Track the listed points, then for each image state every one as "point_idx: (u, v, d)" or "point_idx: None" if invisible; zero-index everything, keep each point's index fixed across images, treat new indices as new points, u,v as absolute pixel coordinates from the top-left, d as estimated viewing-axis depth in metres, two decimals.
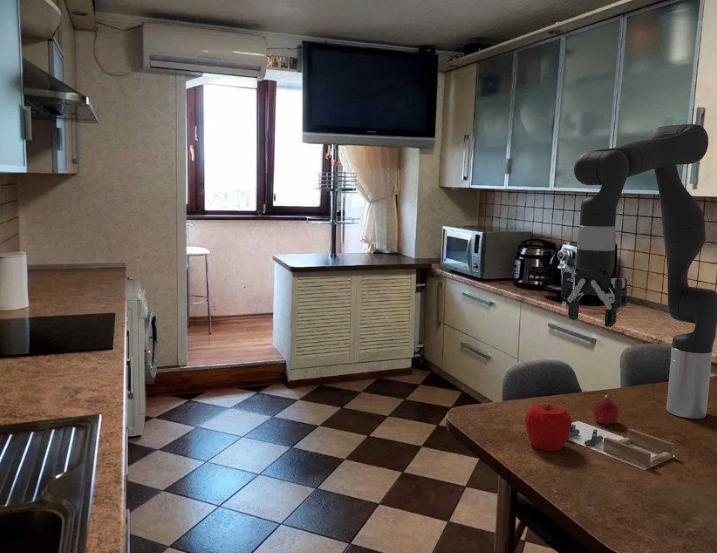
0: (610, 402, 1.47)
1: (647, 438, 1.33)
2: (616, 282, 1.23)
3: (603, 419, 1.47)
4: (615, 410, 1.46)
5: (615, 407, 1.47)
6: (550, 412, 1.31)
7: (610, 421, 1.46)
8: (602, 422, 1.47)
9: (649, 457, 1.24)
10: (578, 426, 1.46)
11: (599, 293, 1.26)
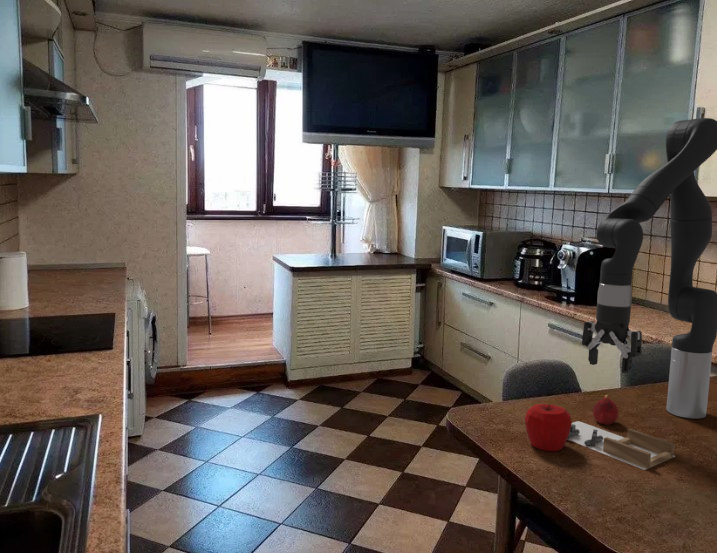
0: (610, 402, 1.47)
1: (647, 438, 1.33)
2: (632, 335, 1.40)
3: (603, 419, 1.47)
4: (615, 410, 1.46)
5: (615, 407, 1.47)
6: (550, 412, 1.31)
7: (610, 421, 1.46)
8: (602, 422, 1.47)
9: (649, 457, 1.24)
10: (578, 426, 1.46)
11: (617, 343, 1.43)
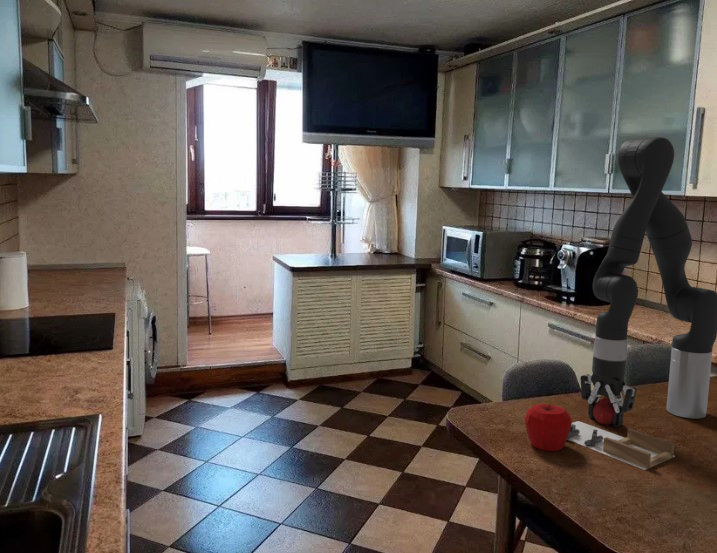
0: (610, 402, 1.47)
1: (647, 438, 1.33)
2: (627, 392, 1.42)
3: (603, 420, 1.47)
4: None
5: None
6: (550, 412, 1.31)
7: (610, 421, 1.46)
8: (602, 422, 1.47)
9: (649, 457, 1.24)
10: (578, 426, 1.46)
11: (611, 397, 1.45)
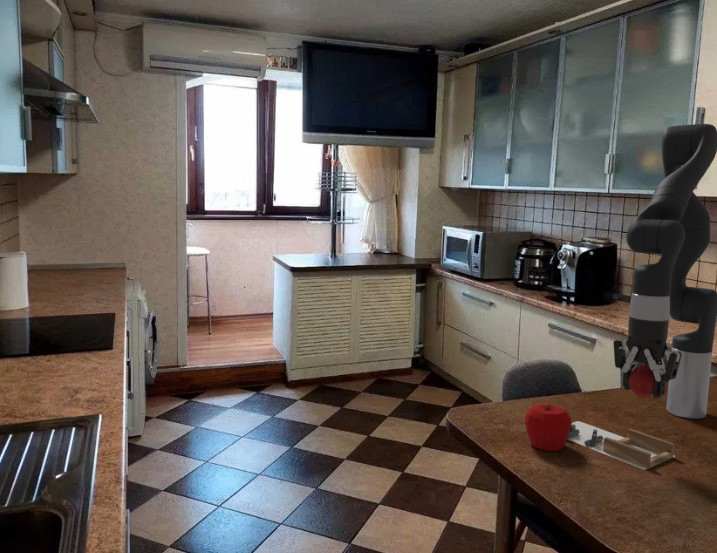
0: (649, 370, 1.27)
1: (647, 438, 1.33)
2: (671, 356, 1.22)
3: (641, 390, 1.26)
4: (655, 379, 1.26)
5: None
6: (550, 412, 1.31)
7: (649, 392, 1.26)
8: (640, 393, 1.27)
9: (649, 457, 1.24)
10: (578, 426, 1.46)
11: (651, 363, 1.25)
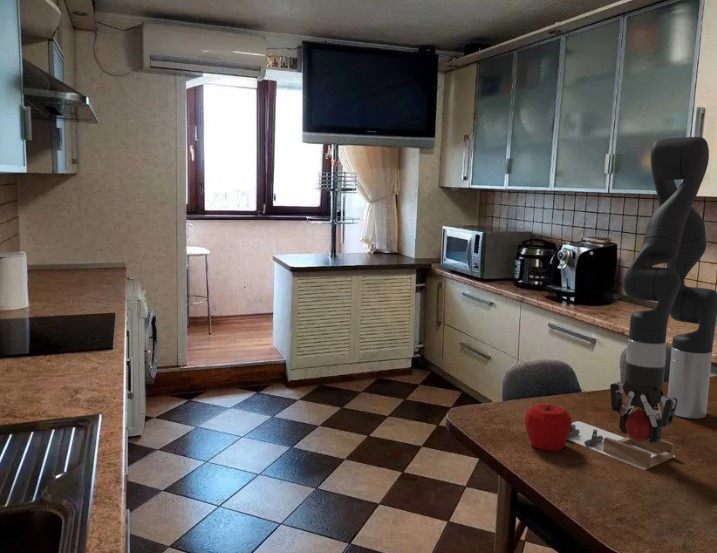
0: (645, 415, 1.28)
1: None
2: (667, 403, 1.23)
3: (637, 435, 1.28)
4: (651, 424, 1.27)
5: None
6: (550, 412, 1.31)
7: (646, 437, 1.27)
8: (636, 438, 1.28)
9: (649, 457, 1.24)
10: (578, 426, 1.46)
11: (647, 409, 1.26)
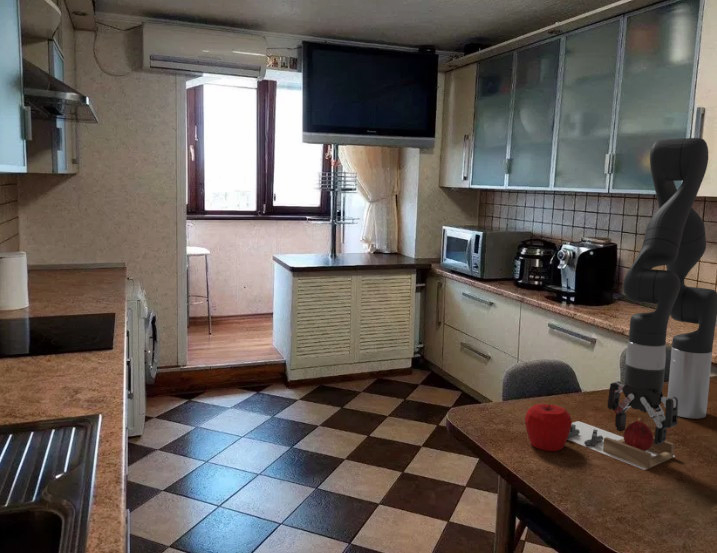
0: (644, 426, 1.29)
1: None
2: (667, 402, 1.23)
3: (635, 446, 1.28)
4: (650, 435, 1.28)
5: (649, 432, 1.28)
6: (550, 412, 1.31)
7: (644, 449, 1.28)
8: None
9: (649, 457, 1.24)
10: (578, 426, 1.46)
11: (649, 411, 1.26)
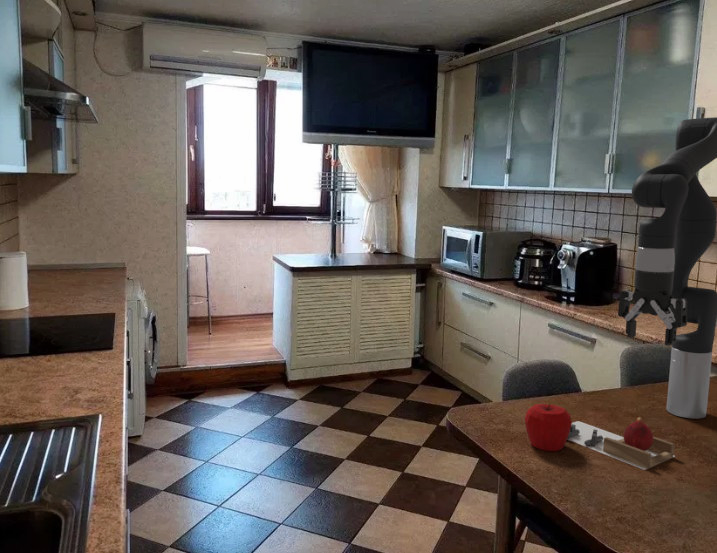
0: (644, 426, 1.29)
1: None
2: (677, 303, 1.26)
3: (635, 446, 1.28)
4: (650, 435, 1.28)
5: (649, 432, 1.28)
6: (550, 412, 1.31)
7: (644, 448, 1.28)
8: None
9: (649, 457, 1.24)
10: (578, 426, 1.46)
11: (659, 313, 1.29)
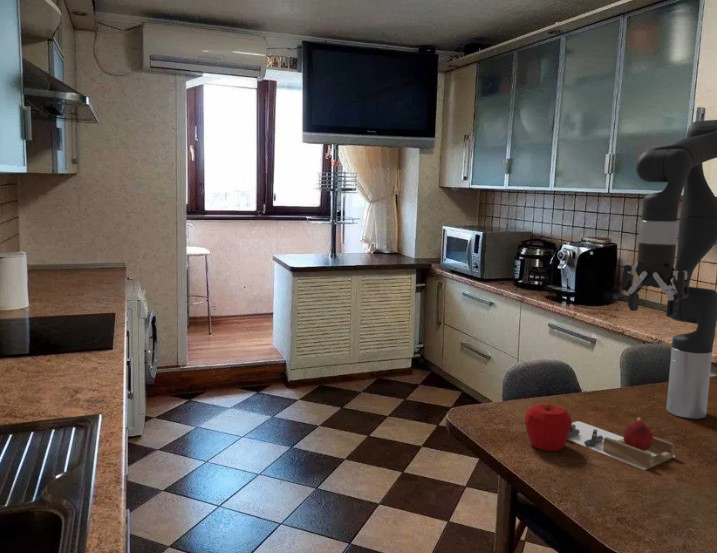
0: (644, 426, 1.29)
1: None
2: (679, 274, 1.30)
3: (635, 446, 1.28)
4: (650, 435, 1.28)
5: (649, 432, 1.28)
6: (550, 412, 1.31)
7: (644, 448, 1.28)
8: None
9: (649, 457, 1.24)
10: (578, 426, 1.46)
11: (661, 285, 1.32)
